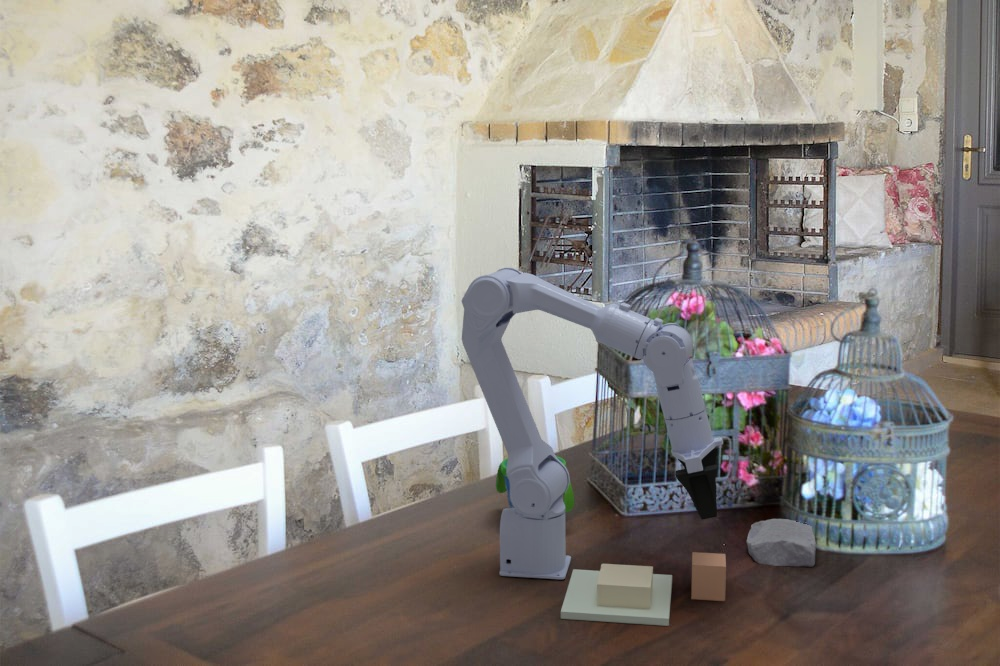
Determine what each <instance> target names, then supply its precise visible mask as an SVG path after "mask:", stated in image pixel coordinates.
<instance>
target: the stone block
mask: <svg viewBox="0 0 1000 666" xmlns="http://www.w3.org/2000/svg"><path fill="white" fill-rule="evenodd" d="M796 521H797V520H791V519H789V518H786V519H785V518H771V519H766V520H760V521H755V522H754V523H753V524H751V526H750V529H749V532H748V533H747V537H746V538H747V539H746V544H747V550H748V555H750V556H751V558H752V559H753V560H754V562H756V563H758V564H760V565H767V566H774V567H775V566H776V567H777V566H779V567H782V566H783V567H786V566H791V567H810V568H811V567H814V566H815V564H816V551H817V550H816V548H817V547H816V545H817V543H816V537H815V534H814V533H813V531H814V530H813V525H812V526H810V525H807V524H803V523H800V522H801V521H799V522H796Z"/></svg>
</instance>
